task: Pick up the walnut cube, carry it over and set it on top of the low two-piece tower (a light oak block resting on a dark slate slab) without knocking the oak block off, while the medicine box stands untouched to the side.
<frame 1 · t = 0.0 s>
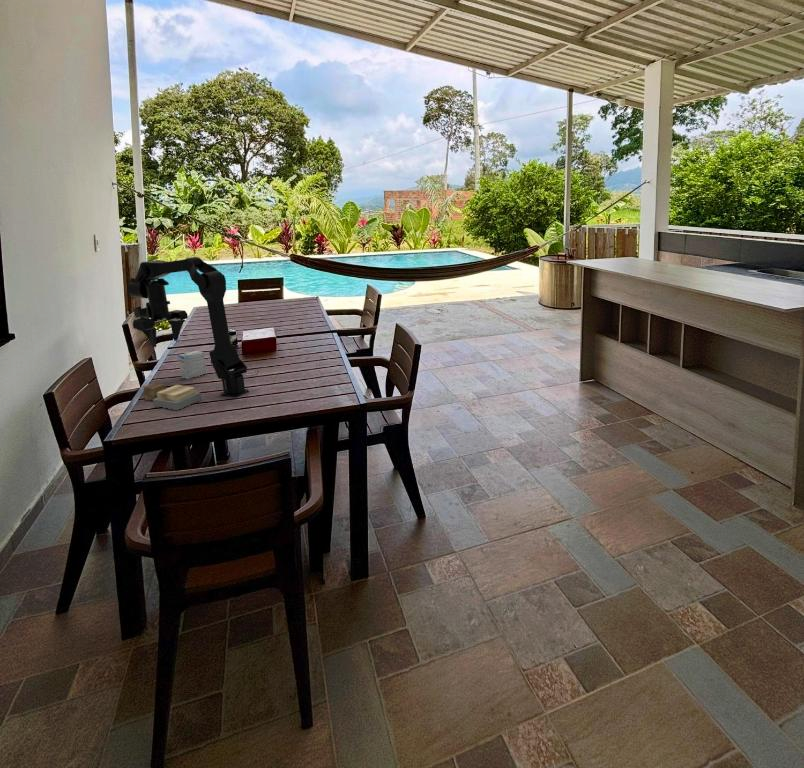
hand: (165, 343, 190), 15 cm above the table, tool pointing down, fingers open, 9 cm apart
medicine box: (194, 376, 204), on the table
walnut cube: (156, 398, 182), on the table
oak block: (177, 395, 175), point 2 cm above the table, touching slate slab
slate slab: (178, 403, 176), on the table
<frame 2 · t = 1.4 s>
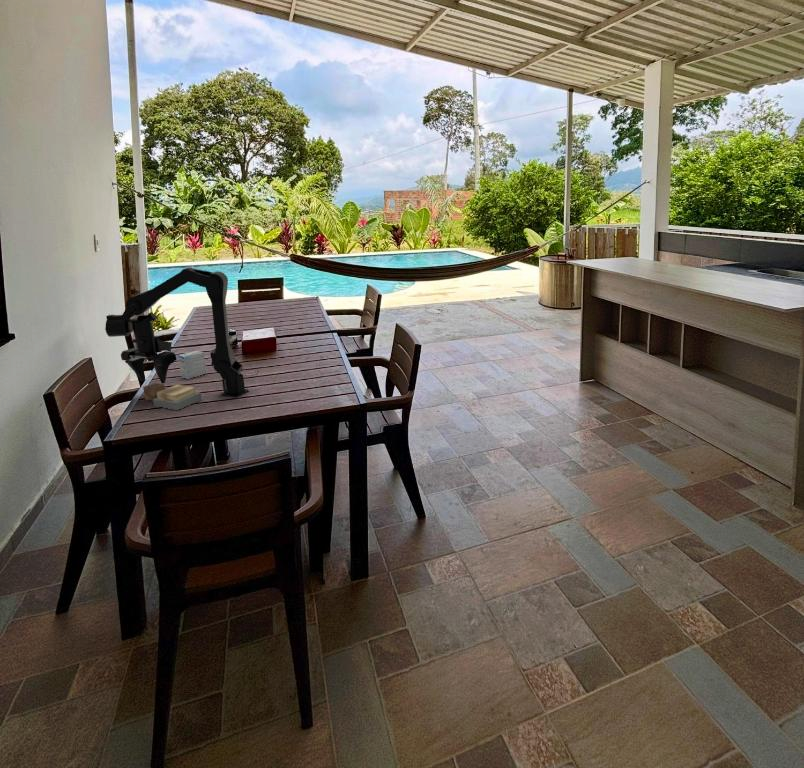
hand: (153, 381, 180), 6 cm above the table, tool pointing down, fingers open, 9 cm apart
nothing on the table moved.
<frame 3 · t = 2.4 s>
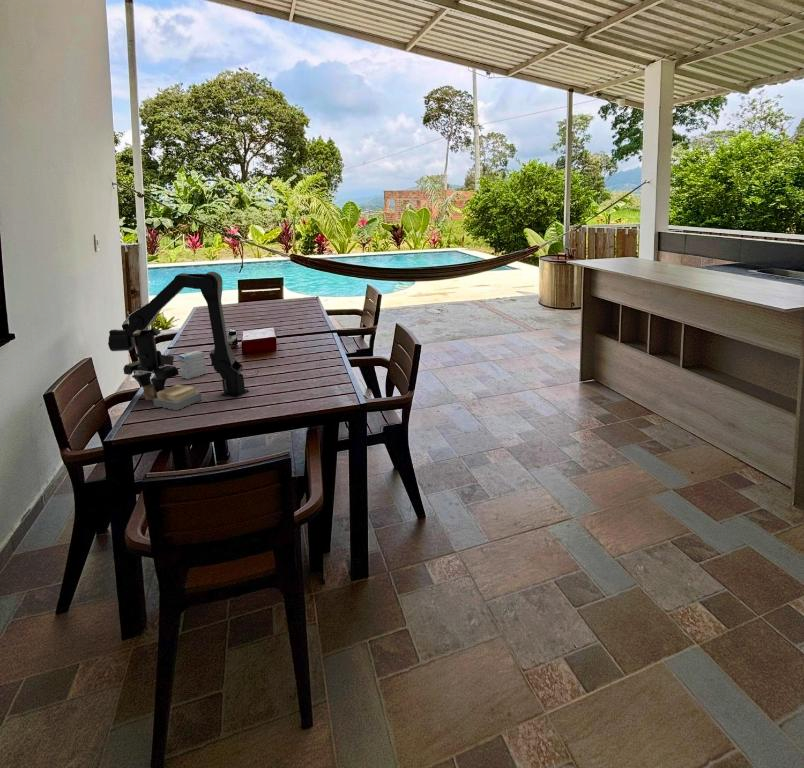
hand: (155, 395, 181), 1 cm above the table, tool pointing down, fingers closed on walnut cube, 4 cm apart
walnut cube: (155, 398, 182), on the table, touching gripper
everything else where it was.
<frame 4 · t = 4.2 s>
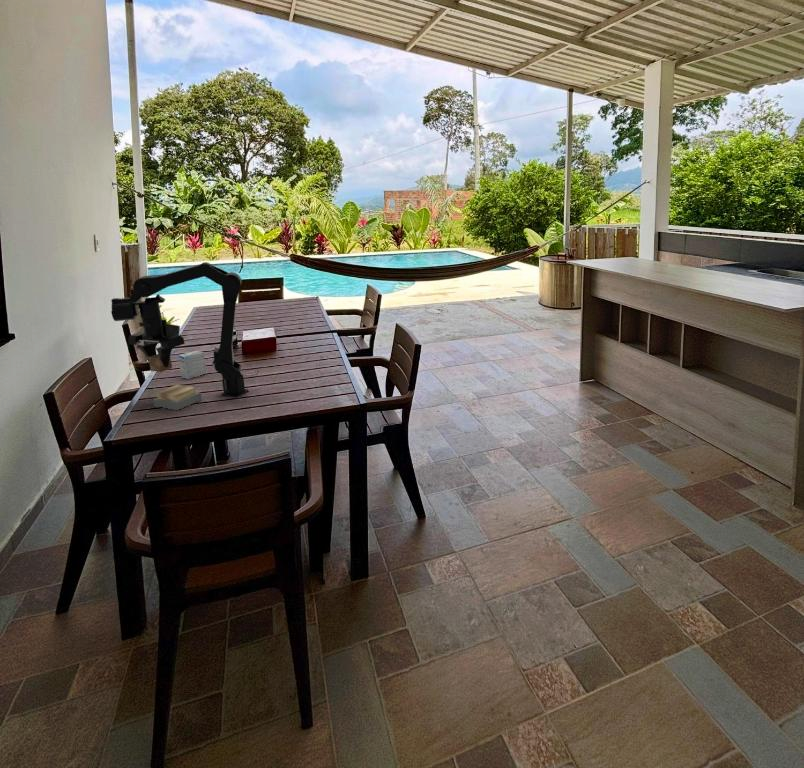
hand: (161, 366, 175), 12 cm above the table, tool pointing down, fingers closed on walnut cube, 4 cm apart
walnut cube: (161, 369, 176), point 11 cm above the table, touching gripper
everything else where it was.
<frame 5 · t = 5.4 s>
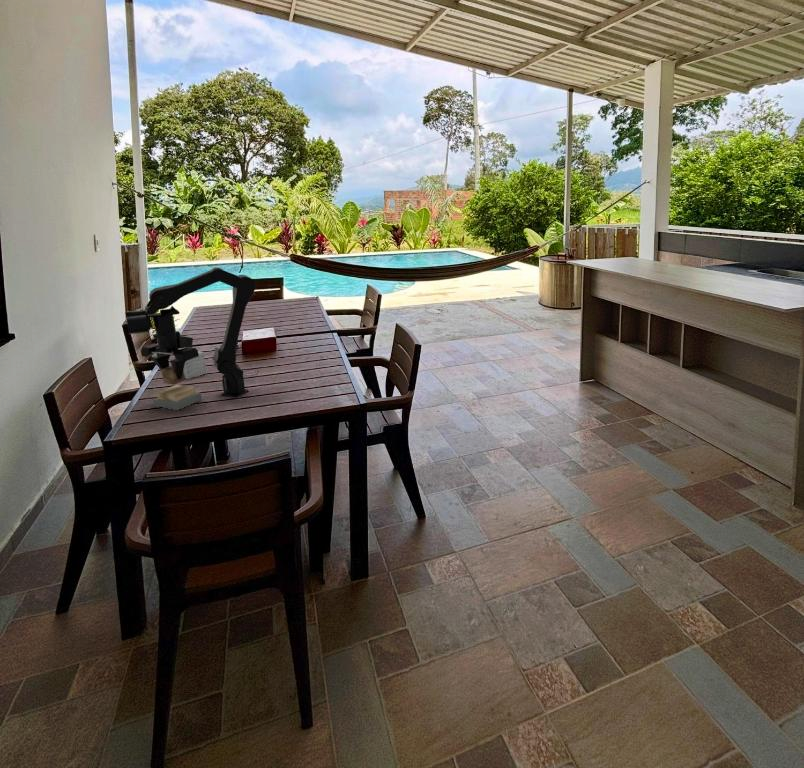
hand: (174, 378, 173), 8 cm above the table, tool pointing down, fingers closed on walnut cube, 4 cm apart
walnut cube: (174, 381, 174), point 7 cm above the table, touching gripper
everything else where it was.
when the fingers open (6 cm above the table, at t = 6.2 s): walnut cube stays where it is, resting on oak block.
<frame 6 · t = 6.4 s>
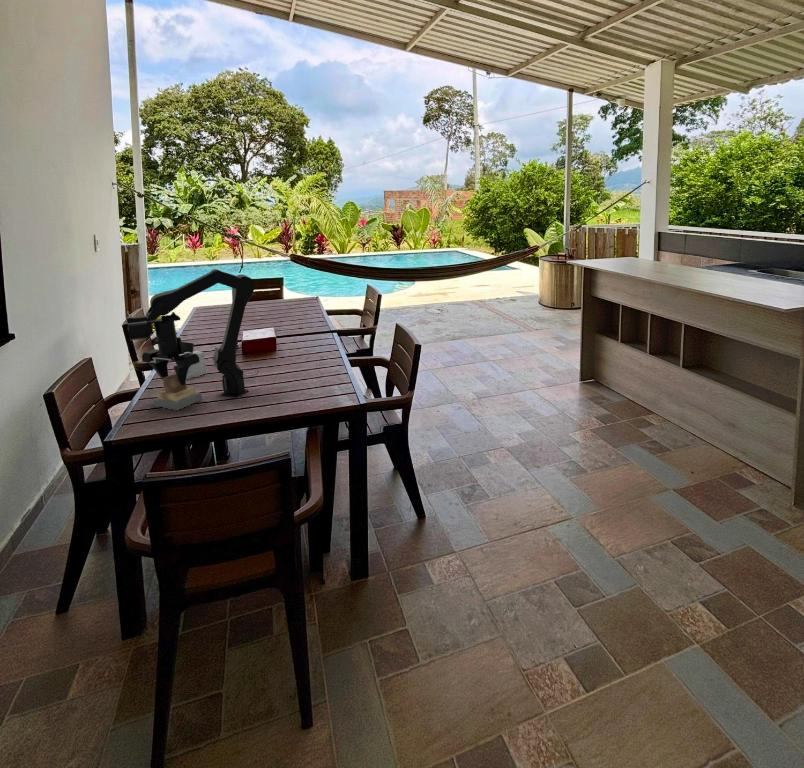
hand: (175, 384, 174), 6 cm above the table, tool pointing down, fingers open, 7 cm apart
walnut cube: (176, 390, 175), point 4 cm above the table, touching oak block
oak block: (177, 395, 175), point 2 cm above the table, touching slate slab, walnut cube
everything else where it was.
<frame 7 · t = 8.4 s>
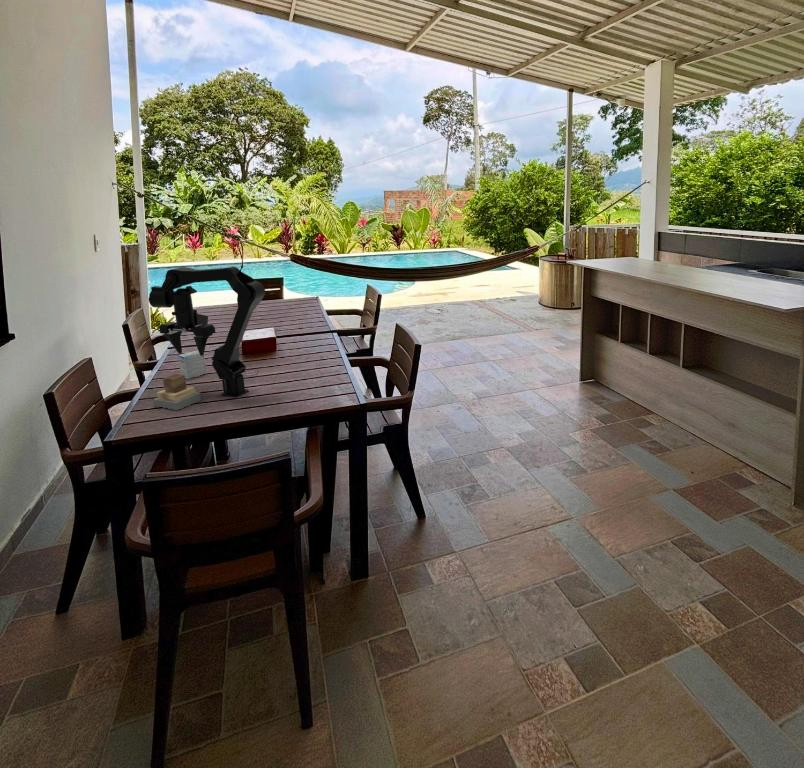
hand: (191, 354, 183), 13 cm above the table, tool pointing down, fingers open, 9 cm apart
nothing on the table moved.
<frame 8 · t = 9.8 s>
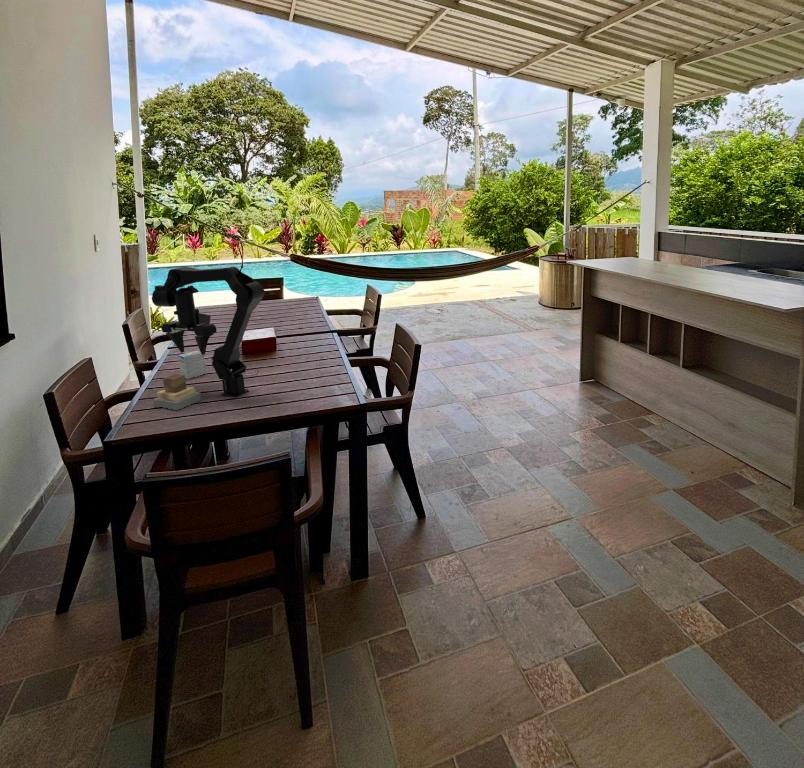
hand: (192, 353, 183), 13 cm above the table, tool pointing down, fingers open, 9 cm apart
nothing on the table moved.
at the end: walnut cube inside the target area on the slate slab (0.1 cm from its centre), point 4.5 cm above the slate slab's base; walnut cube tilted 0°; oak block moved 0.1 cm from its start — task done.
